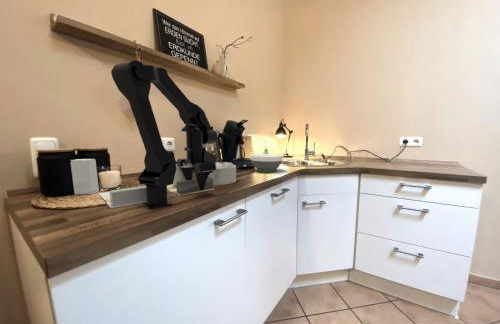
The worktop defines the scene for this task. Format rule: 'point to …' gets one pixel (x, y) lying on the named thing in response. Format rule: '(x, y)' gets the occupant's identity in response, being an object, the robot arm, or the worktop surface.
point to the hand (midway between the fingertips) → (195, 187)
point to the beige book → (189, 187)
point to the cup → (178, 176)
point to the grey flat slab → (125, 196)
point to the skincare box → (84, 176)
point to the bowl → (266, 162)
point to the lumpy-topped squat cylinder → (223, 174)
